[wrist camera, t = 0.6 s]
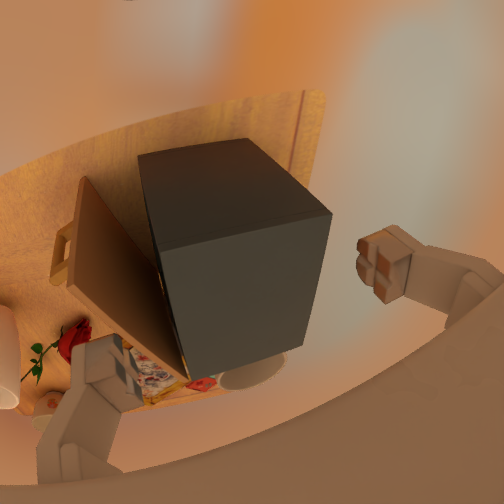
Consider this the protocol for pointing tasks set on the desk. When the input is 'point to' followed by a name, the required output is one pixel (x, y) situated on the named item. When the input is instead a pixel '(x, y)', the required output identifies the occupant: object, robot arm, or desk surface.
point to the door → (115, 281)
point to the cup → (9, 360)
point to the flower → (63, 345)
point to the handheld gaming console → (202, 384)
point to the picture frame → (154, 377)
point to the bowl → (45, 410)
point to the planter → (251, 374)
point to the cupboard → (233, 251)
